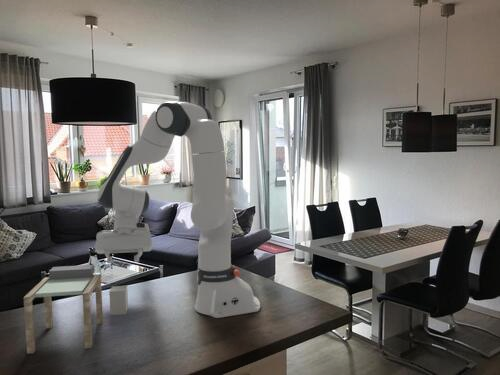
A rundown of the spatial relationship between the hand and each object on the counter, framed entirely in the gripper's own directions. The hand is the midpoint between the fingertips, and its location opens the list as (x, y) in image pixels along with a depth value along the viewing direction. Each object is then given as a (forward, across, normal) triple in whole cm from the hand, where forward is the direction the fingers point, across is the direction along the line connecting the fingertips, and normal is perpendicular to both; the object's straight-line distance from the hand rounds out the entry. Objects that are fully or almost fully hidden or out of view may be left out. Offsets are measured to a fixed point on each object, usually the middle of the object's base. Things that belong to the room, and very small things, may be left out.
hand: (122, 261), depth 143 cm
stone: (+18, 0, +2) cm, 18 cm away
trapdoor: (+18, -12, -19) cm, 28 cm away
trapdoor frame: (+29, -12, -10) cm, 33 cm away
